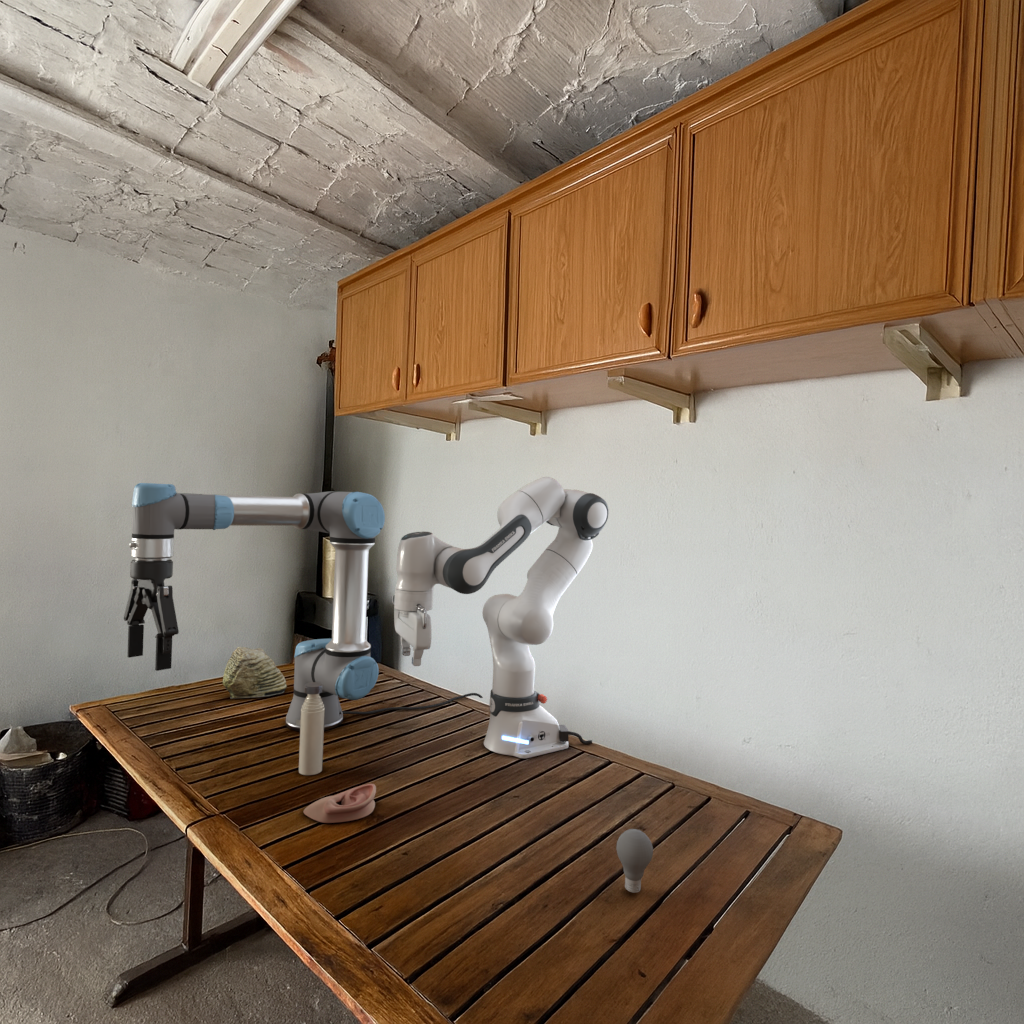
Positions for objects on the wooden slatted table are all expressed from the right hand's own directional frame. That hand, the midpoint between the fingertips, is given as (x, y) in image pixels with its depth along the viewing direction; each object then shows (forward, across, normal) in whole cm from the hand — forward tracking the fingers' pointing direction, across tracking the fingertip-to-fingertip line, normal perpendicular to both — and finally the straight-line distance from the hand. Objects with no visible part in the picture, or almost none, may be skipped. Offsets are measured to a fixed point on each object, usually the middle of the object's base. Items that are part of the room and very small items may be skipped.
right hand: (410, 660), depth 148 cm
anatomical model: (+26, -14, +17) cm, 34 cm away
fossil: (+26, +68, +31) cm, 79 cm away
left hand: (-2, +3, +54) cm, 54 cm away
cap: (+7, +7, +21) cm, 23 cm away
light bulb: (+26, -57, -24) cm, 67 cm away
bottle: (+26, +7, +21) cm, 34 cm away
